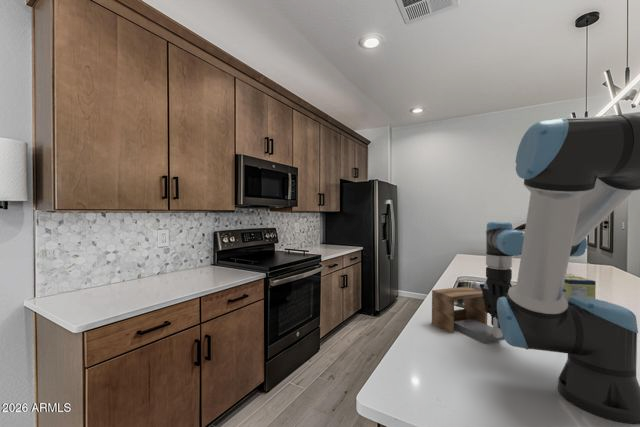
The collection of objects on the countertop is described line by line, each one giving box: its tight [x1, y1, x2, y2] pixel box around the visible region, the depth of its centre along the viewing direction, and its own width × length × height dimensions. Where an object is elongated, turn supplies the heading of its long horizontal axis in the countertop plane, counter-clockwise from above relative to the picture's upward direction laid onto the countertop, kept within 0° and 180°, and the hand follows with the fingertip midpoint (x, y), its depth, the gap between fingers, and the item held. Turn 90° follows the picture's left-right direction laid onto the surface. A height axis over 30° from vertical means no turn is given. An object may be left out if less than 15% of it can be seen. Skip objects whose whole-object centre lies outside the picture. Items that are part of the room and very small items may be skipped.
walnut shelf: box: [431, 286, 488, 334], centre depth 115 cm, size 10×18×13 cm, turn 112°
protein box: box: [562, 273, 596, 302], centre depth 135 cm, size 10×16×16 cm
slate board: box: [454, 319, 505, 344], centre depth 108 cm, size 14×10×2 cm
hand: (497, 336), depth 101 cm, fingers closed
